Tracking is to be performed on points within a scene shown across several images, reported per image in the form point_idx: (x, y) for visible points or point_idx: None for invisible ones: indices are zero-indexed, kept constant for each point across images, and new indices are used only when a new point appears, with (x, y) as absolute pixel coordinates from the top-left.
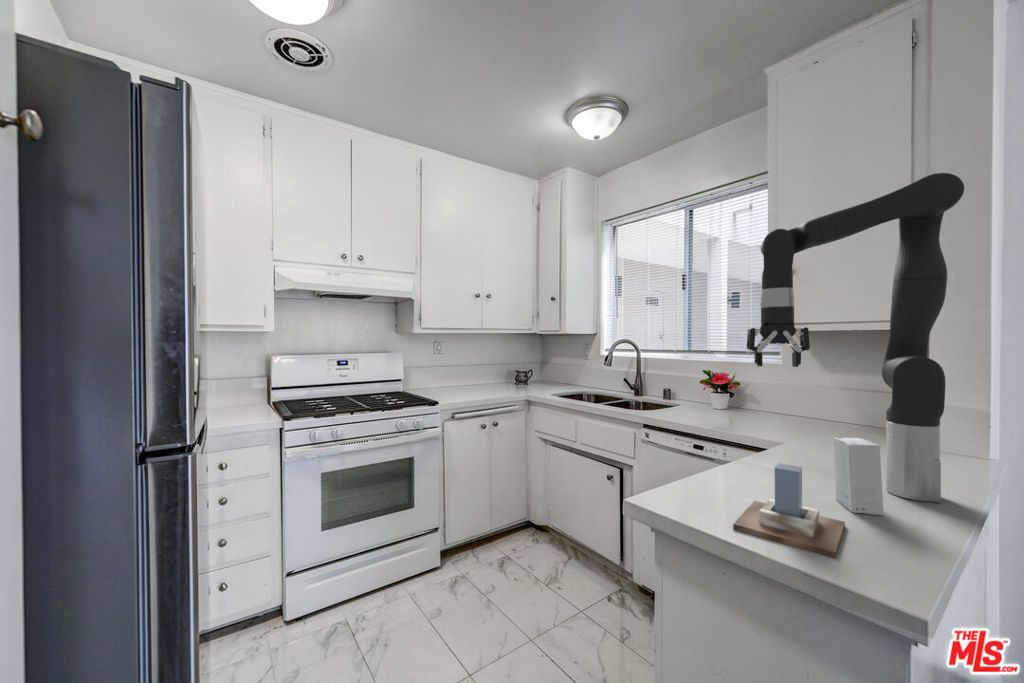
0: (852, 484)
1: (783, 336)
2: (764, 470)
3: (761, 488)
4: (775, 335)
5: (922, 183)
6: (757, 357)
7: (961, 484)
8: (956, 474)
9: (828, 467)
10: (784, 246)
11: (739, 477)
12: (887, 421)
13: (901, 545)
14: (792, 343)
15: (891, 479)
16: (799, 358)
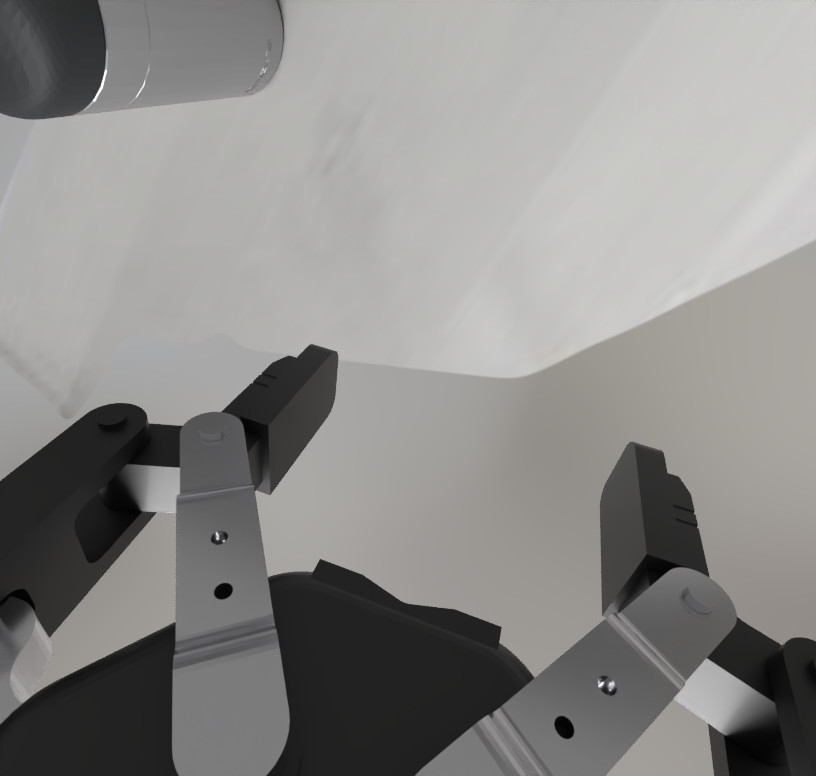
0: None
1: (290, 684)
2: (533, 275)
3: (699, 64)
4: (456, 751)
5: None
6: (684, 535)
7: (79, 137)
8: (60, 219)
9: (321, 291)
10: None
11: (686, 201)
12: (108, 46)
13: None
14: (240, 507)
15: (258, 25)
16: (262, 388)
